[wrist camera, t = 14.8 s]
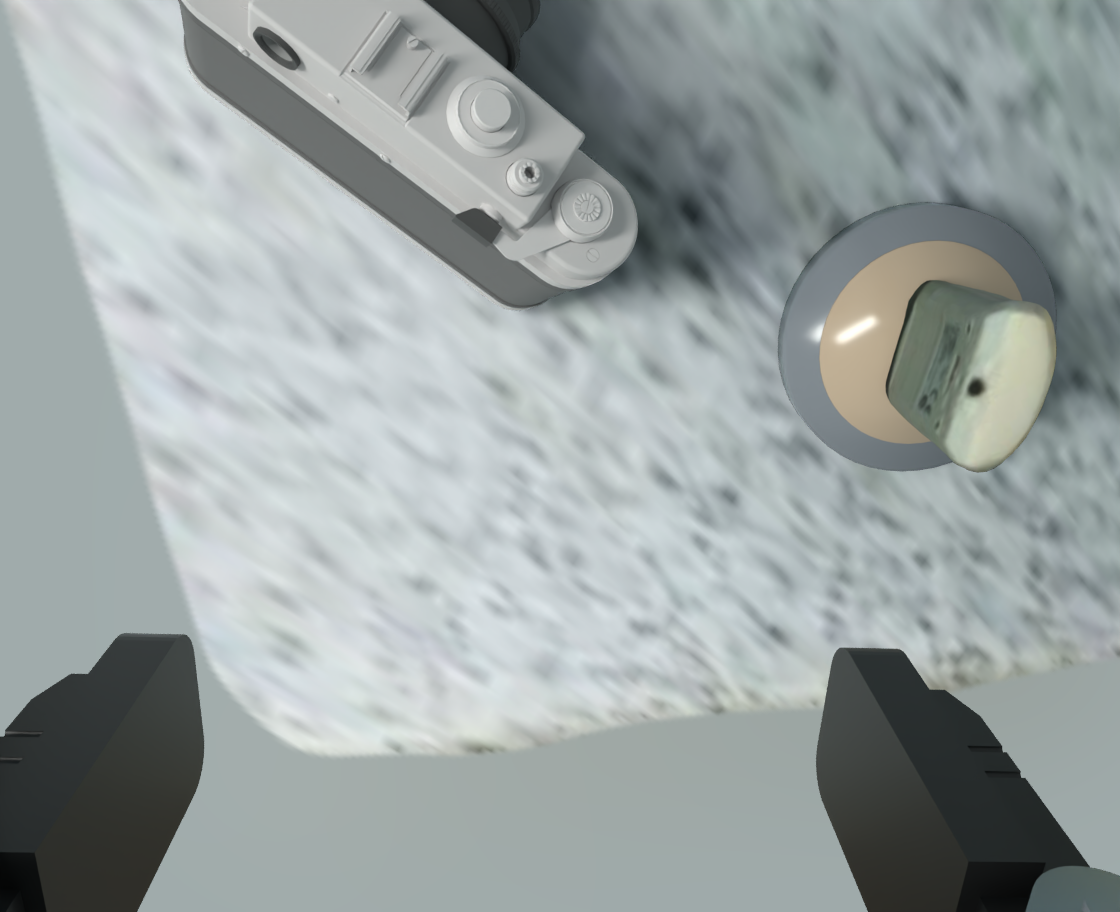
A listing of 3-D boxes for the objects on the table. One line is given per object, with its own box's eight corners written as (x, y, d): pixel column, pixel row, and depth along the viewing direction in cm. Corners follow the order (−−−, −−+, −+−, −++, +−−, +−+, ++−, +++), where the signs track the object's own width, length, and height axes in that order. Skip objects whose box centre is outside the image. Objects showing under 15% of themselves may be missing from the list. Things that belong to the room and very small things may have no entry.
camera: (516, 342, 37) (612, 315, 27) (153, 79, 33) (113, -67, 23) (635, 161, 39) (767, 72, 29) (302, -117, 34) (325, -334, 24)
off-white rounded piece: (839, 297, 37) (921, 346, 29) (966, 244, 36) (1082, 280, 29) (879, 423, 39) (965, 498, 31) (1000, 374, 38) (1117, 439, 31)
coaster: (772, 220, 37) (784, 225, 36) (1045, 186, 37) (1068, 189, 36) (782, 473, 41) (792, 487, 40) (1029, 442, 41) (1048, 455, 39)
